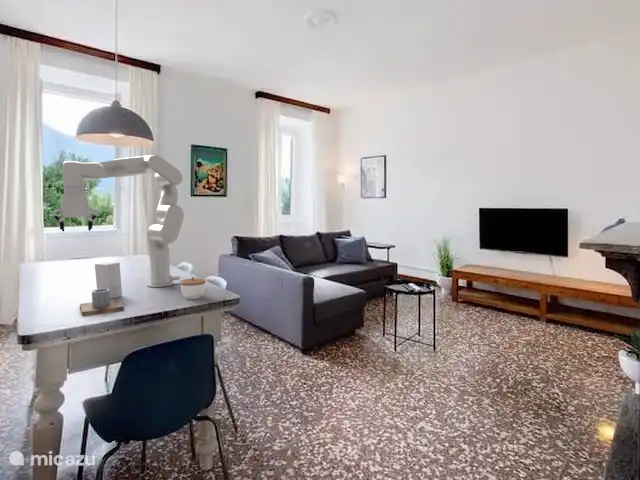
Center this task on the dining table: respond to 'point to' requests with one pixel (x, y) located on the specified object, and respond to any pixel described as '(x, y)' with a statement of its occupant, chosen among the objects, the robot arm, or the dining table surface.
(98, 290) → the roll
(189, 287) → the lidded jar
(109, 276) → the skincare box
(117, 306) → the roll stand
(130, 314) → the dining table surface
